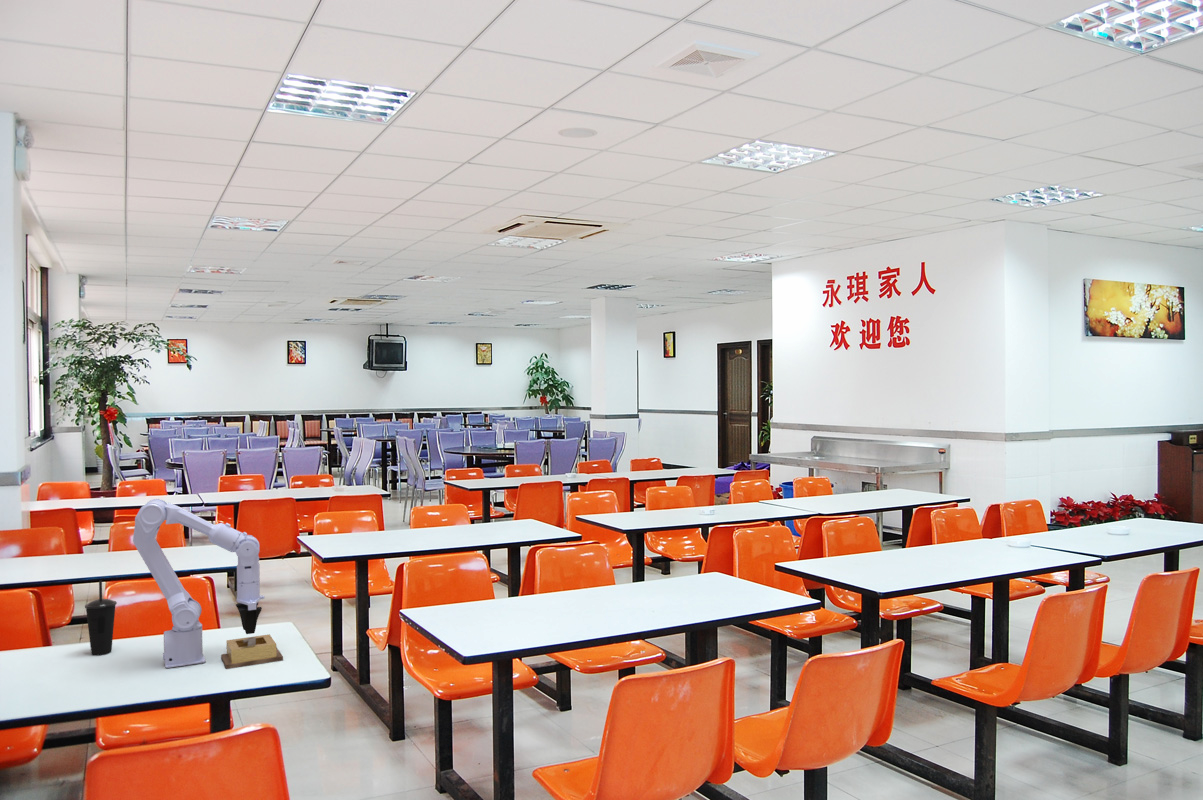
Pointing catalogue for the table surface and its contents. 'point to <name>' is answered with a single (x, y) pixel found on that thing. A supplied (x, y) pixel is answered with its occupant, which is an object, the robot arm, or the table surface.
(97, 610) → the drinking cup
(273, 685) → the table surface
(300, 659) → the table surface
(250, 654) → the tan slotted block
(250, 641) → the board
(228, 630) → the table surface
